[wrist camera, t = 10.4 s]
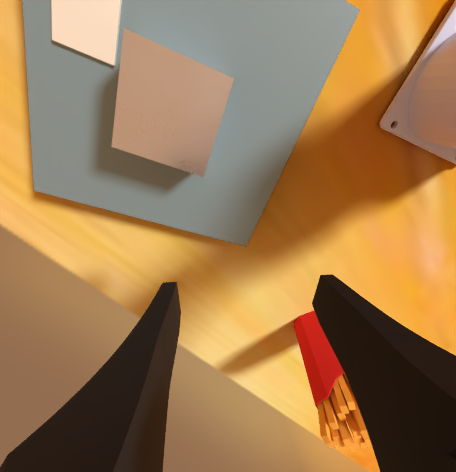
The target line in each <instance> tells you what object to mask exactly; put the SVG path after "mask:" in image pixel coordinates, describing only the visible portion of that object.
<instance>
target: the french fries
mask: <svg viewBox="0 0 456 472" xmlns="http://www.w3.org/2000/svg"><path fill="white" fill-rule="evenodd" d="M293 324H294V328H295V331H296V335H297V339H298V342H299V346H300V350H301V354H302V357H303V361H304V365H305V368H306V372H307V376H308V380H309V383H310V387H311V391H312V395H313V398H314V402H315V405H316V407H317V409H318V415H319V424H320V432H321V437H322V439H323V440H324V442H325V443H326V444H328V447H331V448H335V444H336V445H339V447H345V448H348V449H349V451H352V450H356V447H355V444H354V441H353V439H352V436H351V434H350V431H349V429H348V427H347V424H346V421H347V423H348V425H349V427H350V429H351V432H352V434H353V437H354V439H355V441H356V443H359V444H360V447H361V449H363V448H368V447H370V446H372V444H371V441H370V438H369V435H368V432H367V429H366V426H365V424H364V421H363V418H362V416H361V413H360V410H359V408H358V405H357V402H356V400H355V397H354V395H353V392H352V390H351V387H350V385H349V382H348V380H347V377H346V375H345V373H344V371H343V369H342V367H341V365H340V363H339V361H338V359H337V357H336V355H335V353H334V351H333V349H332V347H331V345H330V343H329V341H328V339H327V337H326V335H325V334H324V332H323V330H322V328H321V326H320V323H319V321H318V319H317V316H316V313H315V311H312V312H310V313H307V314H304V315H302V316H300V317H299V318H298V319H297V320H296V321H295V322H294V323H293ZM345 420H346V421H345ZM334 442H335V443H334Z"/></svg>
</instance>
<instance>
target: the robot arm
mask: <svg viewBox="0 0 456 472" xmlns="http://www.w3.org/2000/svg"><path fill="white" fill-rule="evenodd" d="M393 121H394V125H393V126H392V127H391V124H392V122H393ZM379 125H380V128H382V129H383V130H385V131H388V132H390V133H392V134H394V135H396V136H398V137H400V138H402V139H404V140H406V141H408V142H410V143H412V144H414V145H416V146H418V147H420V148H422V149H424V150H427V151H429V152H431V153H433V154H435V155H437V156H439V157H441V158H443V159H445V160H447V161H449V162H451V163H453V164H455V165H456V0H455V1H454V3H453V5H452V6H451V8H450V9H449V11H448V13H447V14H446V16H445V17H444V19H443V21H442V22H441V24H440V25H439V27H438V29H437V30H436V32H435V33H434V35H433V37H432V38H431V40H430V41H429V43H428V45H427V46H426V48H425V49H424V51H423V53H422V54H421V56H420V57H419V59H418V61H417V62H416V64H415V65H414V67H413V69H412V70H411V72H410V73H409V75H408V77H407V78H406V80H405V81H404V83H403V85H402V86H401V88H400V89H399V91H398V93H397V94H396V96H395V97H394V99H393V101H392V102H391V104H390V105H389V107H388V109H387V110H386V112H385V113H384V115H383V117H382V118H381V120H380V124H379ZM312 304H313V307H314V310H315V313H316V316H317V319H318V321H319V323H320V326H321V328H322V330H323V332H324V334H325V335H326V337H327V339H328V341H329V343H330V345H331V347H332V349H333V351H334V353H335V355H336V357H337V359H338V361H339V363H340V365H341V367H342V369H343V371H344V373H345V375H346V377H347V380H348V382H349V385H350V387H351V390H352V392H353V395H354V397H355V400H356V402H357V405H358V408H359V410H360V413H361V416H362V418H363V421H364V424H365V426H366V429H367V432H368V435H369V438H370V441H371V444H372V447H373V450H374V453H375V456H376V459H377V462H378V465H379V468H380V472H456V356H455V355H453V354H451V353H449V352H448V351H446V350H444V349H442V348H440V347H438V346H436V345H435V344H433V343H431V342H429V341H428V340H426V339H424V338H422V337H421V336H419V335H418V334H416V333H414V332H413V331H411V330H409V329H408V328H406V327H404V326H403V325H401V324H400V323H398V322H397V321H395V320H394V319H392V318H391V317H389V316H388V315H386V314H385V313H383V312H382V311H381V310H379V309H378V308H376V307H375V306H374V305H372V304H371V303H370V302H368V301H367V300H365V299H364V298H363V297H361V296H360V295H359V294H358V293H356V292H355V291H354V290H352V289H351V288H350V287H348V286H347V285H346V284H344V283H343V282H342V281H340V280H339V279H338V278H336V277H335V276H334V275H321V276H320V279H319V282H318V286H317V289H316V292H315V296H314V299H313V302H312ZM180 314H181V310H180V303H179V295H178V288H177V282H166V283H163V284H162V285H161V287H160V289H159V290H158V292H157V294H156V296H155V297H154V299H153V301H152V302H151V304H150V305H149V307H148V309H147V310H146V312H145V313H144V315H143V316H142V318H141V319H140V320H139V322H138V323H137V325H136V326H135V327H134V329H133V330H132V331H131V333H130V334H129V335H128V337H127V338H126V339H125V341H124V342H123V343H122V344H121V346H120V347H119V348H118V349H117V350H116V352H115V353H114V354H113V355H112V356H111V357H110V359H109V360H108V361H107V362H106V363H105V364H104V365H103V366H102V368H101V369H100V370H99V371H98V372H97V373H96V374H95V375H94V376H93V377H92V378H91V379H90V380H89V381H88V382H87V383H86V384H85V386H83V387H82V388H81V389H80V390H79V391H78V392H77V393H76V394H75V395H74V396H73V397H72V398H71V399H70V400H69V401H68V402H67V403H66V404H65V405H64V406H63V407H62V408H61V409H59V410H58V411H57V412H56V413H55V414H54V415H53V416H52V417H51V418H50V419H49V420H47V421H46V422H45V423H44V424H43V425H42V426H41V427H40V428H38V429H37V430H36V431H35V432H34V433H33V434H31V435H30V436H29V437H28V438H27V439H26V440H24V442H22V443H21V444H20V445H19V446H18V447H16V448H15V449H14V450H13V451H12V452H10V453H9V454H8V455H7V457H6V459H5V461H4V462H3V464H2V465H1V467H0V472H162V471H163V458H164V444H165V432H166V420H167V408H168V398H169V389H170V381H171V376H172V370H173V364H174V358H175V353H176V348H177V342H178V336H179V328H180Z"/></svg>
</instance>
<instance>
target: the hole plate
mask: <svg viewBox="0 0 456 472" xmlns="http://www.w3.org/2000/svg"><path fill="white" fill-rule="evenodd" d="M22 3H23V20H24V36H25V53H26V69H27V86H28V102H29V119H30V135H31V152H32V168H33V185H34V191H37V192H41V193H45V194H49V195H53V196H56V197H60V198H64V199H68V200H72V201H75V202H79V203H83V204H87V205H90V206H94V207H98V208H102V209H106V210H109V211H113V212H117V213H121V214H124V215H128V216H132V217H136V218H140V219H143V220H147V221H151V222H155V223H159V224H162V225H166V226H170V227H174V228H177V229H181V230H185V231H189V232H193V233H196V234H200V235H204V236H208V237H211V238H215V239H219V240H223V241H227V242H230V243H234V244H238V245H242V246H247V244H248V242H249V240H250V238H251V236H252V233H253V231H254V229H255V227H256V225H257V223H258V221H259V219H260V217H261V215H262V213H263V211H264V209H265V206H266V204H267V202H268V200H269V198H270V196H271V194H272V192H273V190H274V188H275V186H276V184H277V182H278V179H279V177H280V175H281V173H282V171H283V169H284V167H285V165H286V163H287V161H288V159H289V157H290V155H291V152H292V150H293V148H294V146H295V144H296V142H297V140H298V138H299V136H300V134H301V132H302V130H303V128H304V125H305V123H306V121H307V119H308V117H309V115H310V113H311V111H312V109H313V107H314V105H315V103H316V101H317V98H318V96H319V94H320V92H321V90H322V88H323V86H324V84H325V82H326V80H327V78H328V76H329V74H330V71H331V69H332V67H333V65H334V63H335V61H336V59H337V57H338V55H339V53H340V51H341V49H342V47H343V44H344V42H345V40H346V38H347V36H348V34H349V32H350V30H351V28H352V26H353V24H354V22H355V20H356V17H357V15H358V13H359V11H360V10H359V9H358V8H356V7H355V6H353V5H352V4H350V3H348V2H347V1H345V0H22ZM124 28H125V29H128V30H130V31H132V32H134V33H136V34H138V35H141V36H143V37H145V38H147V39H149V40H151V41H154V42H156V43H158V44H160V45H162V46H164V47H167V48H169V49H171V50H173V51H175V52H178V53H180V54H182V55H184V56H186V57H188V58H191V59H193V60H195V61H197V62H199V63H201V64H204V65H206V66H208V67H210V68H212V69H214V70H217V71H219V72H221V73H223V74H225V75H228V76H230V77H232V78H234V81H233V84H232V87H231V90H230V94H229V97H228V100H227V103H226V106H225V110H224V113H223V116H222V119H221V122H220V126H219V129H218V132H217V135H216V138H215V142H214V145H213V148H212V151H211V154H210V158H209V161H208V164H207V167H206V170H205V174H204V177H201V176H198V175H195V174H192V173H189V172H186V171H183V170H180V169H177V168H174V167H171V166H168V165H165V164H162V163H159V162H156V161H153V160H150V159H147V158H144V157H141V156H138V155H135V154H132V153H129V152H126V151H123V150H120V149H117V148H114V147H111V146H112V137H113V127H114V117H115V108H116V98H117V89H118V79H119V69H120V60H121V50H122V40H123V31H124Z"/></svg>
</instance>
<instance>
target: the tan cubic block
mask: <svg viewBox="0 0 456 472" xmlns="http://www.w3.org/2000/svg"><path fill="white" fill-rule="evenodd" d="M233 81H234V78H232V77H230V76H228V75H225V74H223V73H221V72H219V71H217V70H214V69H212V68H210V67H208V66H206V65H204V64H201V63H199V62H197V61H195V60H193V59H191V58H188V57H186V56H184V55H182V54H180V53H178V52H175V51H173V50H171V49H169V48H167V47H164V46H162V45H160V44H158V43H156V42H154V41H151V40H149V39H147V38H145V37H143V36H141V35H138V34H136V33H134V32H132V31H130V30H128V29H125V28H124V31H123V40H122V50H121V60H120V69H119V79H118V89H117V98H116V108H115V117H114V127H113V137H112V146H111V147H114V148H117V149H120V150H123V151H126V152H129V153H132V154H135V155H138V156H141V157H144V158H147V159H150V160H153V161H156V162H159V163H162V164H165V165H168V166H171V167H174V168H177V169H180V170H183V171H186V172H189V173H192V174H195V175H198V176H201V177H204V174H205V170H206V167H207V164H208V161H209V158H210V154H211V151H212V148H213V145H214V142H215V138H216V135H217V132H218V129H219V126H220V122H221V119H222V116H223V113H224V110H225V106H226V103H227V100H228V97H229V94H230V90H231V87H232V84H233Z"/></svg>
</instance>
